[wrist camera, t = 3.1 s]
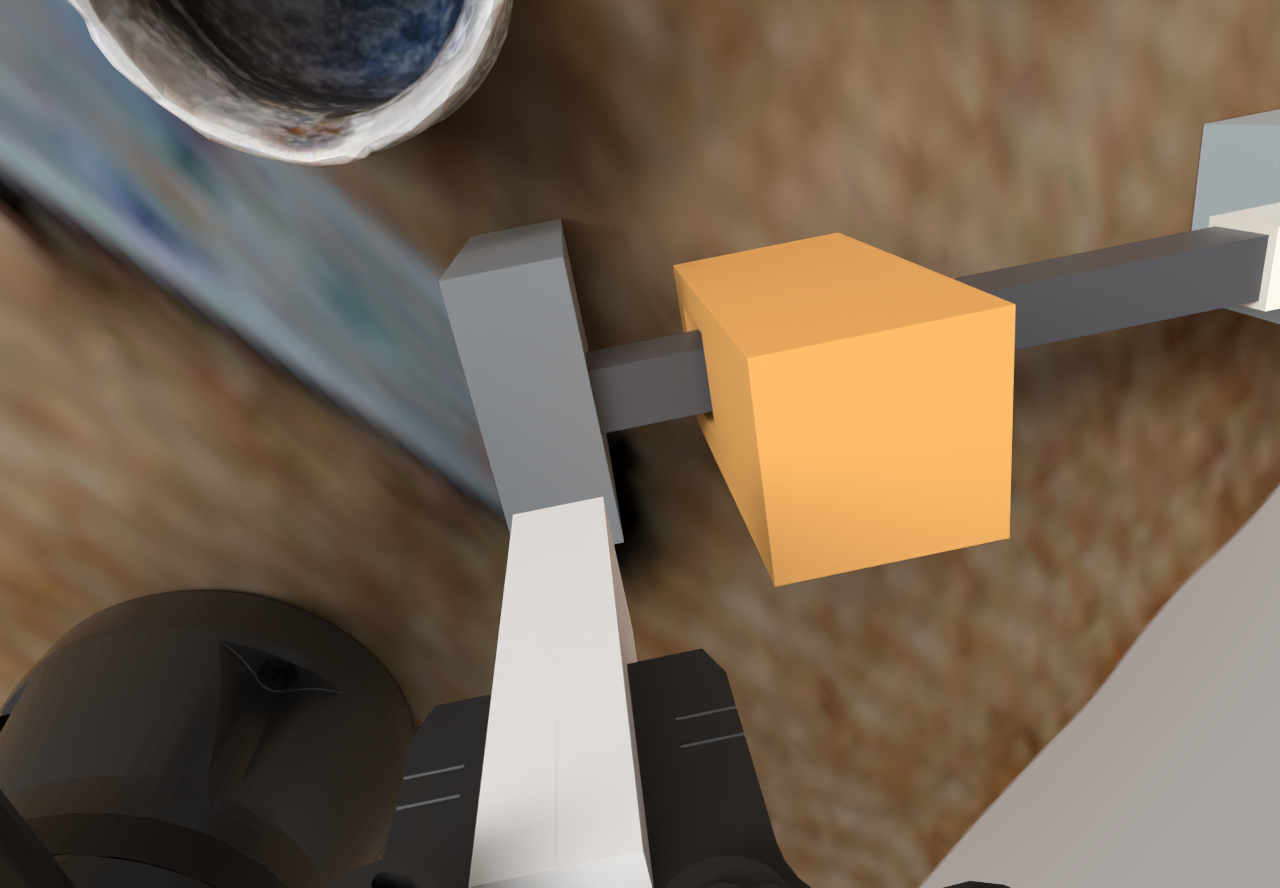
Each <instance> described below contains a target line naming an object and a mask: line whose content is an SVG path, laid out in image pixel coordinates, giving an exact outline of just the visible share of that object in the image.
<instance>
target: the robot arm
mask: <svg viewBox="0 0 1280 888" xmlns="http://www.w3.org/2000/svg"><path fill="white" fill-rule="evenodd" d="M385 846H386V848H385ZM384 848H385V852H384V857H383V860H380V861H376V862H374V861H375V859H376V858H377V857H378V855H379V854H380V853H381V852H382V850H383V849H384ZM0 888H811V887H809V886H808V885H807V884H806V883H804V882H803V881H802V880H801V879H799V878H798V877H797V876H796V874H795V873H794V872H793V870H792V869H791V868H790V867H789V865H788V864H787V863H786V862H785V860H784V858H783V856H782V854H781V851H780V849H779V847H778V845H777V842H776V839H775V836H774V833H773V829H772V826H771V822H770V819H769V816H768V812H767V809H766V806H765V802H764V799H763V796H762V792H761V789H760V785H759V782H758V779H757V775H756V772H755V769H754V765H753V762H752V759H751V755H750V752H749V749H748V745H747V742H746V738H745V737H744V733H743V728H742V725H741V722H740V718H739V715H738V712H737V710H736V706H735V701H734V698H733V695H732V691H731V688H730V685H729V681H728V678H727V675H726V672H725V671H724V670H723V669H722V668H721V667H720V666H719V665H718V664H717V663H716V662H715V661H714V660H713V659H712V658H711V657H710V656H709V655H708V654H707V653H706V652H705V651H704V650H703V649H698V650H693V651H688V652H683V653H678V654H673V655H669V656H664V657H659V658H654V659H649V660H644V661H639V662H637V657H636V650H635V643H634V636H633V629H632V625H631V620H630V616H629V611H628V607H627V602H626V598H625V593H624V588H623V584H622V579H621V575H620V570H619V566H618V561H617V557H616V552H615V548H614V543H613V539H612V534H611V530H610V525H609V521H608V516H607V511H606V507H605V502H604V498H603V497H598V498H593V499H588V500H583V501H578V502H573V503H569V504H564V505H559V506H554V507H549V508H544V509H539V510H534V511H529V512H524V513H519V514H514V515H513V519H512V527H511V535H510V544H509V552H508V561H507V569H506V577H505V586H504V594H503V602H502V611H501V619H500V628H499V636H498V644H497V653H496V661H495V669H494V678H493V686H492V694H491V695H487V696H482V697H477V698H472V699H467V700H463V701H458V702H453V703H448V704H443V705H438V706H434V708H433V709H432V711H431V712H430V714H429V715H428V716H427V718H426V719H425V721H424V722H423V724H422V725H421V727H420V728H419V730H418V731H417V732H416V734H415V735H414V730H413V724H412V720H411V716H410V713H409V710H408V707H407V705H406V703H405V701H404V698H403V696H402V694H401V693H400V691H399V689H398V687H397V685H396V684H395V682H394V681H393V679H392V678H391V676H390V675H389V674H388V673H387V671H386V670H385V669H384V668H383V666H382V665H381V664H380V663H379V662H378V661H377V660H376V659H375V658H374V657H373V656H372V655H371V654H370V653H369V652H368V651H367V650H366V649H365V648H363V647H362V646H361V645H360V644H358V643H357V642H356V641H355V640H353V639H352V638H351V637H349V636H348V635H346V634H345V633H344V632H342V631H340V630H339V629H337V628H336V627H334V626H332V625H331V624H329V623H327V622H325V621H323V620H321V619H319V618H317V617H315V616H313V615H311V614H309V613H306V612H304V611H302V610H299V609H297V608H294V607H291V606H289V605H285V604H282V603H279V602H276V601H272V600H268V599H265V598H261V597H256V596H251V595H246V594H239V593H231V592H221V591H177V592H168V593H160V594H155V595H149V596H145V597H140V598H136V599H132V600H129V601H126V602H123V603H120V604H117V605H115V606H112V607H110V608H107V609H105V610H103V611H101V612H99V613H97V614H94V615H93V616H91V617H89V618H87V619H86V620H84V621H82V622H81V623H79V624H78V625H77V626H75V627H74V628H72V629H71V630H70V631H68V632H67V633H66V634H65V635H64V636H63V637H61V638H60V639H59V640H58V641H57V642H56V643H55V644H54V645H53V646H52V647H51V649H50V650H49V651H48V652H47V653H46V654H45V655H44V656H43V657H42V658H41V659H40V660H39V661H38V662H37V663H36V664H35V665H34V666H33V668H32V669H31V670H30V671H29V672H28V673H27V674H26V675H25V676H24V677H23V678H22V679H21V681H20V682H19V683H18V684H17V686H16V687H15V688H14V689H13V691H12V692H11V694H10V695H9V697H8V699H7V700H6V702H5V703H4V705H3V706H2V708H1V710H0ZM944 888H1010V887H1008V886H1005V885H1001V884H992V883H984V882H974V881H968V882H964V883H960V884H956V885H952V886H949V887H944Z"/></svg>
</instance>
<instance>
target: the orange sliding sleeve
mask: <svg viewBox="0 0 1280 888" xmlns="http://www.w3.org/2000/svg"><path fill="white" fill-rule="evenodd" d="M673 270H674V276H675V283H676V289H677V295H678V302H679V308H680V315H681V321H682V327H683V333H684V332H689V331H694V330H700V332H701V334H702V341H703V348H704V354H705V361H706V368H707V375H708V382H709V388H710V395H711V402H712V409H713V411H712V412H707V413H702V414H697V415H696V417H697V421H698V423H699V425H700V428H701V430H702V432H703V434H704V436H705V438H706V440H707V443H708V445H709V447H710V449H711V451H712V453H713V455H714V458H715V460H716V462H717V464H718V466H719V468H720V470H721V472H722V475H723V477H724V479H725V481H726V483H727V485H728V487H729V490H730V492H731V494H732V496H733V498H734V500H735V502H736V504H737V507H738V509H739V511H740V513H741V515H742V517H743V519H744V522H745V524H746V526H747V528H748V530H749V532H750V534H751V536H752V539H753V541H754V543H755V545H756V547H757V549H758V551H759V554H760V556H761V558H762V560H763V562H764V564H765V566H766V568H767V571H768V573H769V575H770V577H771V579H772V581H773V583H774V586H775V587H777V586H781V585H786V584H791V583H796V582H801V581H805V580H810V579H815V578H820V577H825V576H829V575H834V574H839V573H844V572H849V571H853V570H858V569H863V568H868V567H873V566H877V565H882V564H887V563H892V562H897V561H901V560H906V559H911V558H916V557H921V556H925V555H930V554H935V553H940V552H945V551H949V550H954V549H959V548H964V547H969V546H973V545H978V544H983V543H988V542H993V541H997V540H1002V539H1007V538H1009V535H1010V498H1011V460H1012V423H1013V385H1014V347H1015V310H1016V304H1013V303H1011V302H1008V301H1006V300H1004V299H1001V298H999V297H996V296H994V295H991V294H989V293H986V292H984V291H981V290H979V289H976V288H974V287H971V286H969V285H966V284H964V283H962V282H959V281H957V280H954V279H952V278H949V277H947V276H944V275H942V274H939V273H937V272H934V271H932V270H929V269H927V268H924V267H922V266H920V265H917V264H915V263H912V262H910V261H907V260H905V259H902V258H900V257H897V256H895V255H892V254H890V253H887V252H885V251H882V250H880V249H878V248H875V247H873V246H870V245H868V244H865V243H863V242H860V241H858V240H855V239H853V238H850V237H848V236H845V235H843V234H840V233H834V234H829V235H824V236H819V237H814V238H808V239H803V240H798V241H793V242H788V243H783V244H778V245H773V246H768V247H763V248H758V249H753V250H748V251H743V252H738V253H733V254H728V255H722V256H717V257H712V258H707V259H702V260H697V261H692V262H687V263H682V264H677V265H673Z"/></svg>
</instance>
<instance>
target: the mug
mask: <svg viewBox="0 0 1280 888" xmlns="http://www.w3.org/2000/svg"><path fill="white" fill-rule="evenodd" d="M67 1H68V2H69V3H70V4H71V5H72V6H73V7H74V9H75V10H76V11H77V12H78V13H79V14H80V15H81V16H82V17H83V18H84V20H85V22H86V25H87V27H88V30H89V33H90V35H91V38H92V40H93V41H94V42H95V44H96V45H97V46H98V47H99V49H100V50H101V51H102V53H103V54H104V55H105V56H106V58H107V59H108V60H109V62H110V63H111V64H112V65H113V67H115V68H116V69H117V70H118V71H119V72H120V73H121V74H123V75H124V76H125V77H126V78H127V79H128V80H129V81H131V82H132V83H133V84H134V85H135V86H136V87H137V88H139V89H140V90H141V91H143V92H144V93H145V94H147V95H148V96H149V97H150V98H152V99H153V100H154V101H156V102H157V103H158V104H160V105H161V106H162V107H164V108H165V109H167V110H168V111H170V112H171V113H172V114H174V115H175V116H177V117H178V118H179V119H181V120H182V121H184V122H185V123H186V124H188V125H189V126H191V127H192V128H193V129H195V130H196V131H198V132H199V133H200V134H202V135H203V136H204V137H206V138H207V139H209V140H212V141H214V142H217V143H219V144H222V145H225V146H227V147H230V148H233V149H236V150H240V151H243V152H246V153H249V154H253V155H256V156H259V157H263V158H267V159H271V160H275V161H279V162H284V163H289V164H298V165H307V166H316V167H327V166H334V165H340V164H347V163H351V162H354V161H357V160H361V159H364V158H367V157H369V156H371V155H373V154H376V153H379V152H382V151H385V150H388V149H390V148H392V147H394V146H397V145H399V144H401V143H403V142H405V141H407V140H409V139H411V138H413V137H415V136H416V135H418V134H420V133H421V132H423V131H425V130H427V129H428V128H429V127H431V126H433V125H434V124H436V123H438V122H440V121H442V120H444V119H446V118H448V117H449V116H450V115H451V114H453V113H454V112H455V111H456V110H457V109H458V108H459V107H460V106H462V105H463V104H464V103H465V102H466V101H467V100H468V99H469V98H470V97H471V96H472V94H473V93H474V92H475V91H476V90H477V89H478V88H479V87H480V86H481V84H482V83H483V81H484V80H485V78H486V77H487V75H488V74H489V72H490V71H491V69H492V68H493V66H494V65H495V62H496V60H497V58H498V55H499V53H500V50H501V48H502V46H503V44H504V41H505V39H506V36H507V32H508V27H509V22H510V17H511V12H512V6H513V0H67Z"/></svg>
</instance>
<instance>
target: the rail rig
mask: <svg viewBox="0 0 1280 888" xmlns="http://www.w3.org/2000/svg"><path fill="white" fill-rule="evenodd" d="M954 280H957V281H959V282H962V283H964V284H966V285H969V286H971V287H974V288H976V289H979V290H981V291H984V292H986V293H989V294H991V295H994V296H996V297H999V298H1001V299H1004V300H1006V301H1008V302H1011V303H1013V304H1016V310H1015V347H1014V350H1018V349H1023V348H1028V347H1033V346H1038V345H1043V344H1048V343H1053V342H1058V341H1062V340H1067V339H1072V338H1077V337H1082V336H1087V335H1092V334H1097V333H1102V332H1107V331H1112V330H1117V329H1122V328H1127V327H1132V326H1137V325H1142V324H1146V323H1151V322H1156V321H1161V320H1166V319H1171V318H1176V317H1181V316H1186V315H1191V314H1196V313H1201V312H1206V311H1211V310H1216V309H1221V308H1225V309H1228V310H1232V311H1235V312H1239V313H1242V314H1246V315H1249V316H1253V317H1256V318H1260V319H1263V320H1267V321H1270V322H1274V323H1277V324H1280V109H1279V110H1274V111H1269V112H1264V113H1258V114H1253V115H1248V116H1243V117H1238V118H1233V119H1228V120H1223V121H1218V122H1213V123H1208V124H1204V128H1203V136H1202V145H1201V153H1200V162H1199V170H1198V179H1197V187H1196V196H1195V204H1194V213H1193V221H1192V230H1191V231H1189V232H1184V233H1179V234H1174V235H1169V236H1164V237H1159V238H1154V239H1149V240H1144V241H1139V242H1134V243H1129V244H1124V245H1119V246H1114V247H1109V248H1104V249H1099V250H1094V251H1089V252H1084V253H1079V254H1074V255H1069V256H1064V257H1059V258H1054V259H1049V260H1044V261H1039V262H1034V263H1029V264H1024V265H1019V266H1014V267H1009V268H1004V269H999V270H994V271H989V272H984V273H979V274H974V275H969V276H964V277H959V278H954ZM438 282H439V285H440V289H441V292H442V296H443V300H444V303H445V307H446V310H447V314H448V317H449V321H450V324H451V328H452V331H453V335H454V338H455V342H456V345H457V349H458V352H459V356H460V359H461V363H462V367H463V370H464V374H465V377H466V381H467V384H468V388H469V391H470V395H471V398H472V402H473V405H474V409H475V412H476V416H477V419H478V423H479V426H480V430H481V433H482V437H483V441H484V444H485V448H486V451H487V455H488V458H489V462H490V465H491V469H492V472H493V476H494V479H495V483H496V486H497V490H498V493H499V497H500V500H501V504H502V508H503V511H504V515H505V518H506V522H507V525H508V529H509V532H510V535H511V527H512V519H513V515H514V514H519V513H524V512H529V511H534V510H539V509H544V508H549V507H554V506H559V505H564V504H569V503H573V502H578V501H583V500H588V499H593V498H598V497H603V498H604V502H605V507H606V511H607V516H608V521H609V525H610V530H611V534H612V539H613V543H614V544H618V543H623V542H624V539H623V533H622V527H621V520H620V514H619V508H618V502H617V496H616V489H615V483H614V477H613V471H612V465H611V459H610V452H609V446H608V440H607V435H606V433H608V432H613V431H618V430H623V429H628V428H633V427H638V426H643V425H648V424H653V423H657V422H662V421H667V420H672V419H677V418H682V417H687V416H692V415H697V414H702V413H707V412H712V411H713V409H712V402H711V395H710V388H709V382H708V375H707V368H706V361H705V354H704V348H703V341H702V334H701V332H700V330H694V331H689V332H684V333H679V334H674V335H669V336H664V337H659V338H654V339H649V340H644V341H639V342H634V343H629V344H624V345H619V346H614V347H609V348H604V349H599V350H594V351H589V350H588V345H587V340H586V335H585V331H584V326H583V321H582V316H581V312H580V307H579V302H578V297H577V293H576V288H575V283H574V278H573V274H572V269H571V264H570V259H569V255H568V250H567V245H566V240H565V236H564V231H563V226H562V222H561V219H556V220H551V221H546V222H541V223H536V224H531V225H526V226H521V227H516V228H510V229H505V230H500V231H495V232H490V233H485V234H480V235H475V236H470V238H469V239H468V241H467V242H466V243H465V245H464V246H463V248H462V249H461V250H460V252H459V253H458V255H457V256H456V257H455V259H454V260H453V261H452V263H451V264H450V266H449V267H448V268H447V270H446V271H445V273H444V274H443V275H442V277H441V278H440V280H439V281H438Z"/></svg>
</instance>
